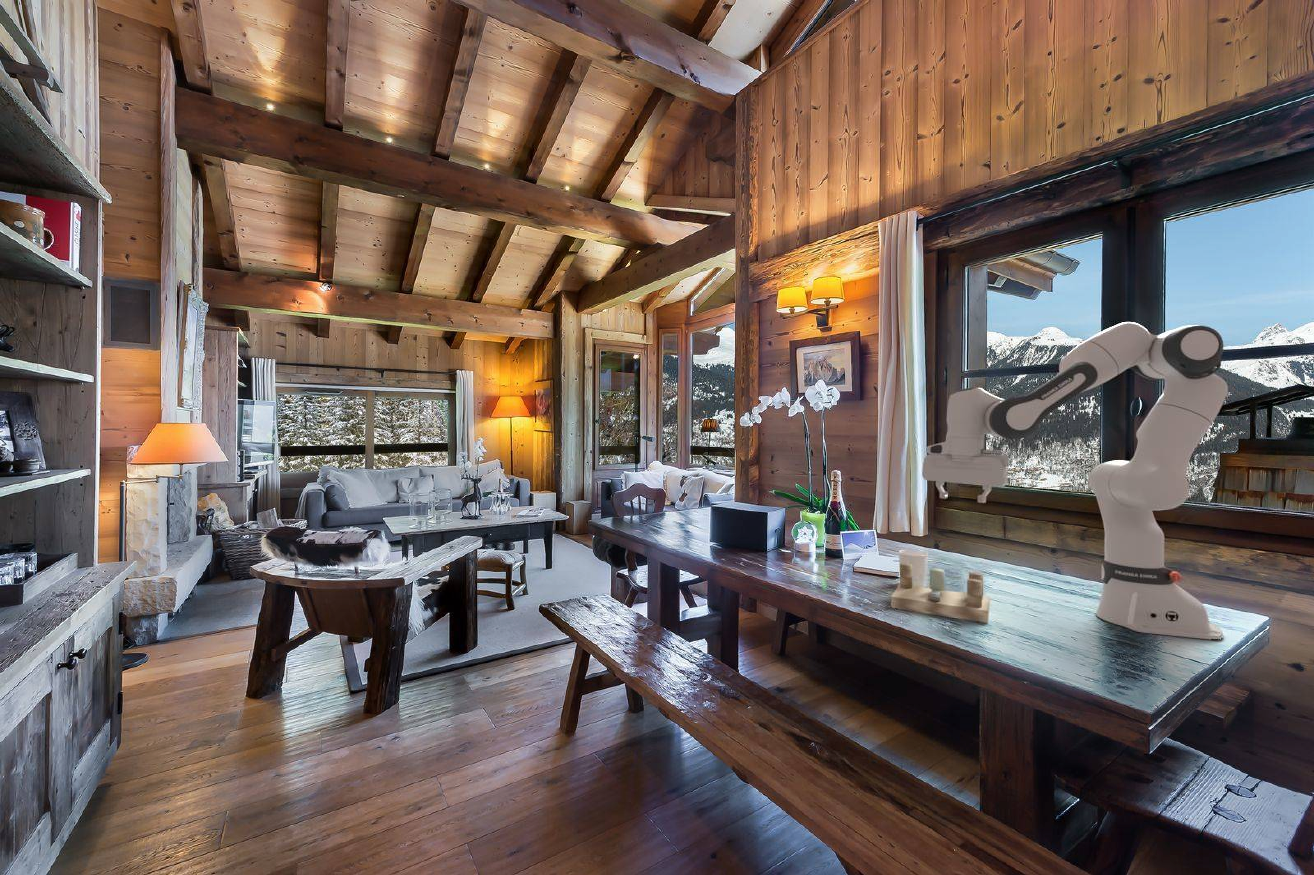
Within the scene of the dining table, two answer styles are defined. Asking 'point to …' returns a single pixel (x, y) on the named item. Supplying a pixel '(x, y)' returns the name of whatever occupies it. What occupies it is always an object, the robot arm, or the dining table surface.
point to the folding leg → (936, 583)
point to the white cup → (915, 565)
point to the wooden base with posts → (942, 598)
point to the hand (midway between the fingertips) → (962, 500)
